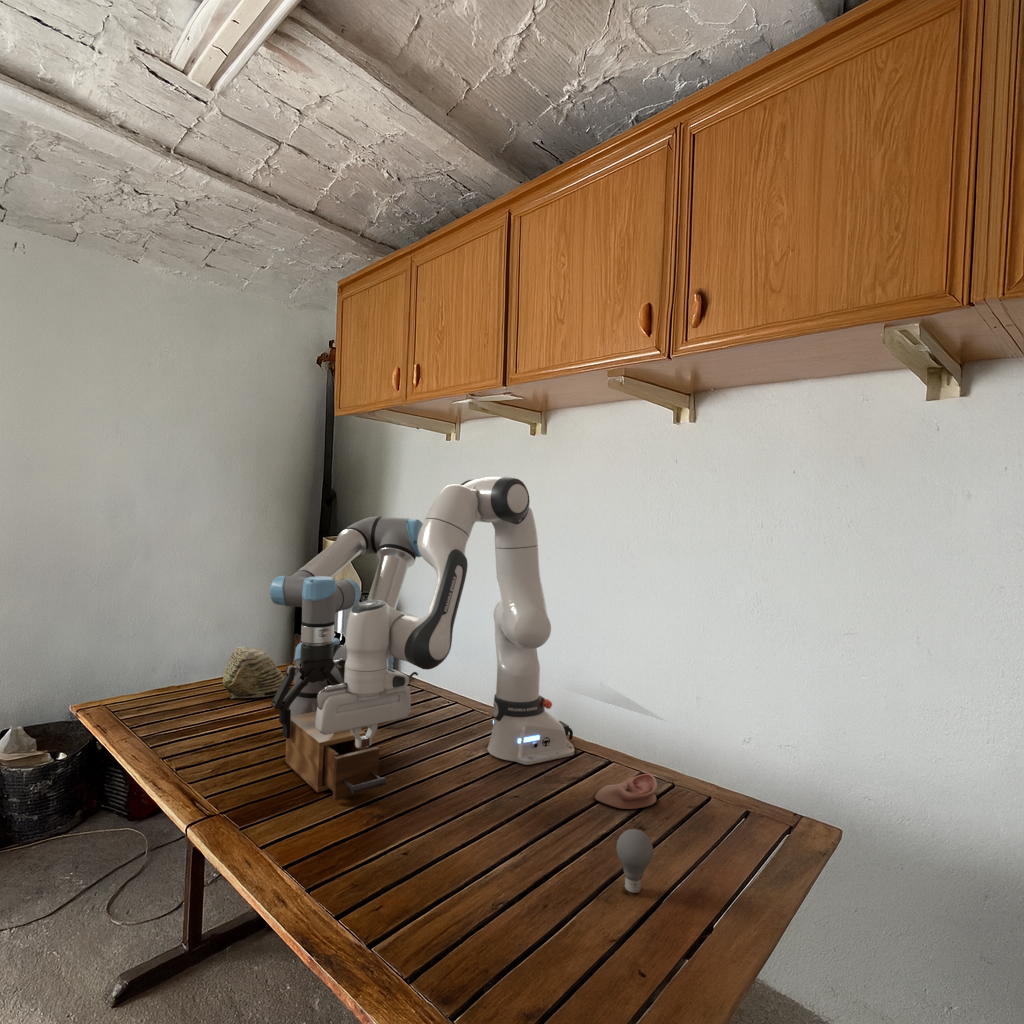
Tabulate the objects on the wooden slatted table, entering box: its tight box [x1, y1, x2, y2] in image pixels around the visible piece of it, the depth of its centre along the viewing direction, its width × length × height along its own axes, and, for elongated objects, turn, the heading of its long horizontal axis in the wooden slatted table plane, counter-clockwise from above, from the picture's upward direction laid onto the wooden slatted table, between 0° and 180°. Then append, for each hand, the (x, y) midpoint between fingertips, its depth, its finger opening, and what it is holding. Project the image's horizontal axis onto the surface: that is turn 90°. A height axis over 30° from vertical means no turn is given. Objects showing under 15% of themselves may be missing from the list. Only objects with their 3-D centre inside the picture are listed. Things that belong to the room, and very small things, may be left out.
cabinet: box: [284, 712, 367, 793], centre depth 146 cm, size 19×11×11 cm, turn 40°
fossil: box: [222, 646, 285, 699], centre depth 198 cm, size 9×18×15 cm, turn 132°
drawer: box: [322, 740, 387, 801], centre depth 138 cm, size 23×10×9 cm, turn 40°
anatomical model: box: [594, 773, 658, 810], centre depth 139 cm, size 13×4×12 cm
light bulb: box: [615, 828, 654, 894], centre depth 106 cm, size 6×6×10 cm
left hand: (314, 730), depth 151 cm, fingers open, 13 cm apart
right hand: (363, 746), depth 131 cm, fingers closed
